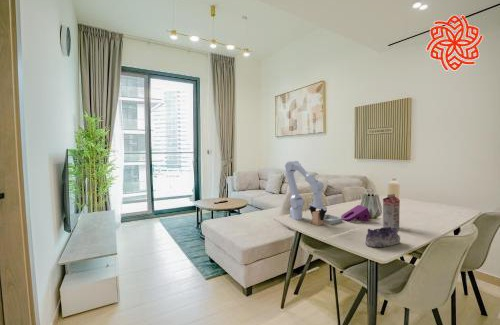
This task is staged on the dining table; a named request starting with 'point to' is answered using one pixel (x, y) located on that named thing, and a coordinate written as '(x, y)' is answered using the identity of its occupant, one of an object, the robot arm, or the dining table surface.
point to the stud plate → (318, 225)
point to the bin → (335, 220)
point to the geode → (382, 237)
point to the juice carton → (391, 211)
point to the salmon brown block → (316, 218)
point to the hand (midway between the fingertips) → (317, 218)
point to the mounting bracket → (357, 214)
